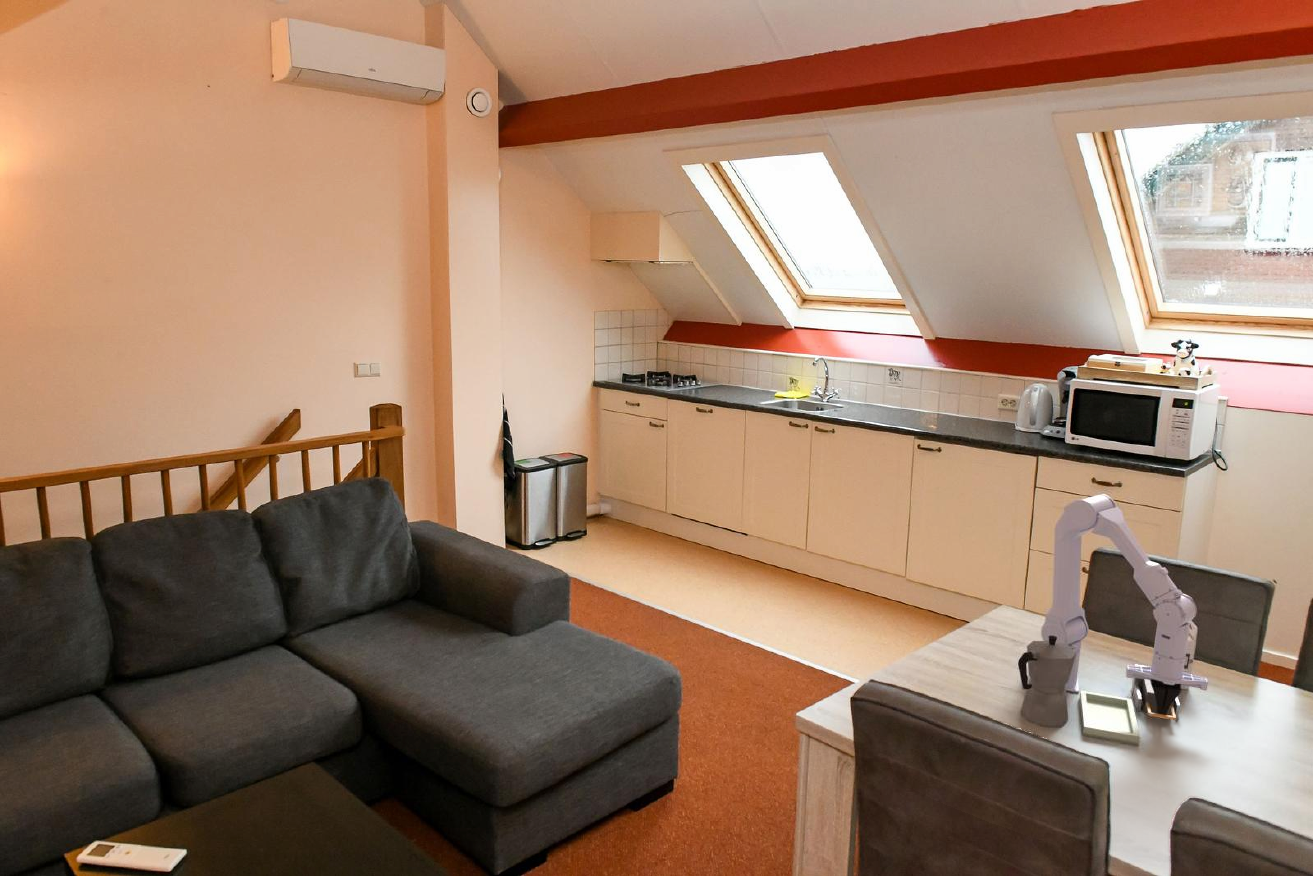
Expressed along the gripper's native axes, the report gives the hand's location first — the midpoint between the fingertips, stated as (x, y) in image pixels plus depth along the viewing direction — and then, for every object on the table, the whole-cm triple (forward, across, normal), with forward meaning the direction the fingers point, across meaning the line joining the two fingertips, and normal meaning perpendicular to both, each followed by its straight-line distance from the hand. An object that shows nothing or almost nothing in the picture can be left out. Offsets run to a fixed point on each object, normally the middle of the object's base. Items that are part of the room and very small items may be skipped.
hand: (1161, 714), depth 192 cm
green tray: (+2, -10, -3) cm, 11 cm away
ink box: (+2, +5, +24) cm, 24 cm away
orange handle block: (+2, 0, +4) cm, 5 cm away
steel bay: (+2, 0, +9) cm, 9 cm away
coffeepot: (+2, -23, -7) cm, 24 cm away
